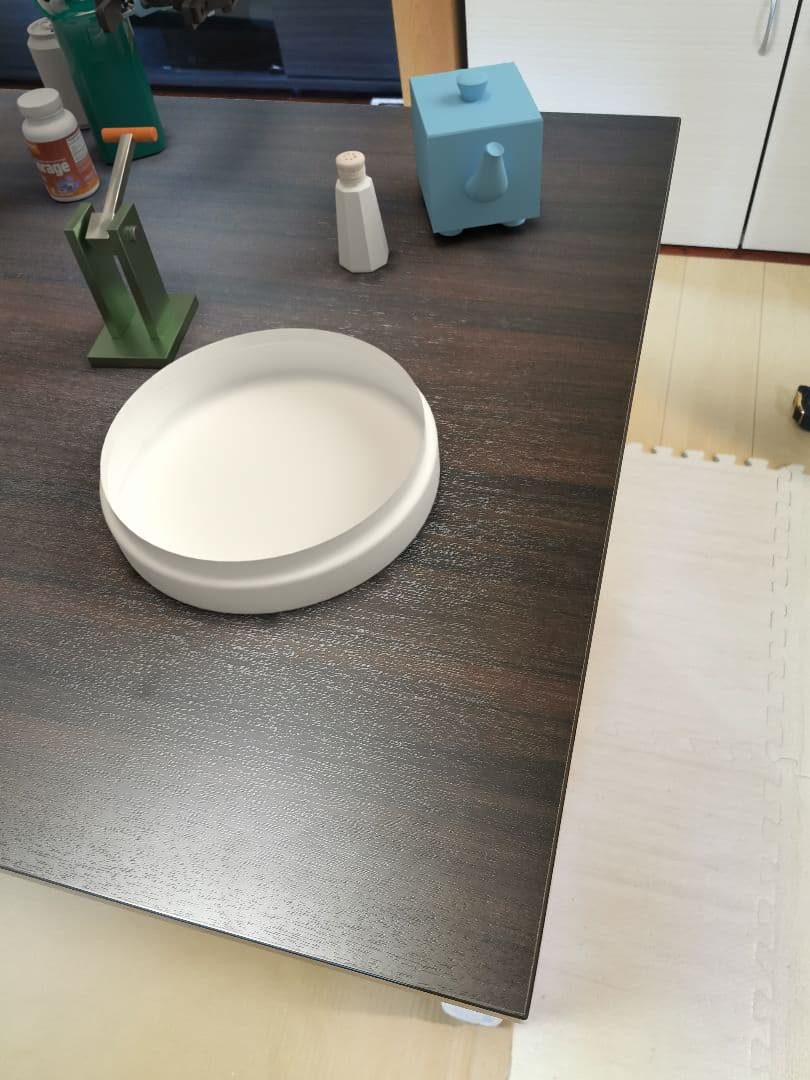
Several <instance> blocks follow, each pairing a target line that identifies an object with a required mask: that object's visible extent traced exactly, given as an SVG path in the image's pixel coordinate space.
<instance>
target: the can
mask: <svg viewBox="0 0 810 1080" xmlns="http://www.w3.org/2000/svg"><path fill="white" fill-rule="evenodd" d="M26 31H27V34H29V37H28V39H27V42H26V45H27V47H28V50H29V52H30V54H31V57H32V60H33V62H34V64H35V67H36V69H37V71H38V74H39V77H40V79H41V82H42V84H43V86H44V88H52V89H55V90H57V91H58V93H59V95H60V98H61V100H62V103H63V109H66V110H68V111H70V112H71V113H72V114H73V115H74V117H75V118H76V121H77V123H78V126H79V129H80V130H84V129H90V126H89V124H88V121H87V118H86V116H85V113H84V110H83V108H82V105H81V102H80V100H79V97H78V95H77V92H76V89H75V87H74V84H73V81H72V79H71V76H70V73H69V71H68V68H67V66H66V63H65V60H64V58H63V55H62V52H61V50H60V47H59V45H58V42H57V39H56V37H55V34H54V31H53V29H52V26H51V23H50V21H49V19H48V18H46V17H45V16H44V17H42V18H38V19H37V20H34V21H32V22H31V23H30V24H29V25H28V27H27V29H26Z"/></svg>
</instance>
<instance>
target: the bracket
mask: <svg viewBox="0 0 810 1080" xmlns="http://www.w3.org/2000/svg"><path fill="white" fill-rule="evenodd" d="M91 213H96V211H95V208H94V206H93V203H92V202H80V204H79V206H78V207H77V209H75V212H74V213H73V215H71V218H70V219H69V220H68V222H67V223H66V225H65V226H64V227H63V229H62V230H63V234H64V235H65V238H66V240H67V242H68V244H69V247H70V249H71V251H72V253H73V256H74V258H75V260H76V263H77V265H78V267H79V268H80V271H81V274H82V275H83V279H84V280H85V282H86V285H87V287H88V289H89V292H90V294H91V295H92V298H93V300H94V302H95V304H96V307H97V309H98V312H99V314H100V316H101V318H102V320H103V322H104V325H103V327H102V329H101V330H100V332H99V334H98V336H97V338H96V339H95V341H94V343H93V345H92V347H91V349H90V350H89V352H88V354H87V356H86V358H87V360H88V362H89V364H90V367H92V368H93V367H94V368H145V369H146V368H151V369H152V368H153V369H163V368H164V367H166V366H167V365H169V364H171V363H172V362H174V361H175V360H174V359H175V358H176V355H177V353H178V350H179V348H180V346H181V344H182V342H183V340H184V338H185V335H186V333H187V331H188V329H189V326H190V324H191V322H192V320H193V318H194V315H195V313H196V311H197V309H198V306H199V305H200V303H199V299H198V297H197V294H196V293H168V292H167V290H166V287H165V284H164V281H163V278H162V276H161V273H160V271H159V267H158V265H157V263H156V259H155V257H154V254H153V251H152V249H151V248H152V247H151V246H150V243H149V241H148V238H147V235H146V232H145V229H144V226H143V223H142V221H141V219H140V216H139V214H138V210H137V207H136V205H135V202H134V201H123V202H122V205H121V207H120V208H119V210H118V211H117V213H116V215H115V216H114V218H113V219H112V221H111V223H110V224H109V226H108V228H107V229H106V230H107V233H108V235H109V238H110V240H111V243H112V245H113V248H114V250H115V252H116V255H117V256H116V257H117V260H118V262H119V265H120V267H121V271H122V272H123V275H124V277H125V280H126V282H127V284H128V287H129V289H130V293H129V291H128V289H127V286H126V284H125V282H124V279H123V277H122V274H121V272H120V269H119V267H118V265H117V262H116V259H115V256H98V255H97V254H96V252H95V251H94V250H93V248H92V247H91V246H90V244H89V243H88V242H87V240H86V234H87V230H88V226H89V222H90V218H91Z"/></svg>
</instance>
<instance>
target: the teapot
mask: <svg viewBox="0 0 810 1080" xmlns="http://www.w3.org/2000/svg"><path fill="white" fill-rule="evenodd" d="M408 85H409V98H410V106H411V107H410V110H411V121H412V134H413V146H414V159H415V170H416V174H417V178H418V182H419V186H420V188H421V193H422V196H423V201H424V204H425V206H426V207H425V208H426V211H427V214H428V218H429V221H430V225H431V229H432V233H433V234H436V233H437V234H440V235H442V236H447V237H452V236H457V235H459V234H461V233H462V232H463V230H464V229H469V228H475V227H476V228H477V227H483V226H489V225H495V224H502V225H504V226H506V227H517V226H520V225H522V224H523V223H524V222H525V221H526V220H527V219H535V218H540V216H541V193H542V192H541V191H542V172H543V171H542V167H543V146H544V145H543V142H544V141H543V140H544V118H543V116H542V114H541V112H540V109H539V107H538V106H537V104H536V102H535V100H534V98H533V96H532V94H531V91H530V90H529V87H528V86H527V84H526V82H525V80H524V78H523V76H522V74H521V72H520V71H519V68H518V66H517V65H516V63H515V62H514V61H509V62H503V63H497V64H489V65H483V66H476V67H468V68H459V69H456V70H449V71H443V72H436V73H429V74H424V75H423V74H422V75H418V76H410V77H409V78H408Z"/></svg>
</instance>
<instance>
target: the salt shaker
mask: <svg viewBox="0 0 810 1080" xmlns="http://www.w3.org/2000/svg"><path fill="white" fill-rule="evenodd" d="M365 161H366V157H365V154H363V153H362V152H361V151H357V150H347V151H344V152H341V153H340V154H338V155H337V156H336V158H335V165H336V167H337V174H338V176H339V177H338V178H337V180H336V184H335V187H334V188H335V189H334V190H335V211H336V227H337V228H336V229H337V230H336V231H337V246H338V247H337V248H338V260H339V265H340V266H341V267H342V268H344V269H345V270H347V271H348V272H350V273H354V274H356V273H357V274H358V273H359V274H360V273H372V272H375V271H376V270H378V269H379V268H381V267H384V266H385V265H386V264H387V263H388V259H389V251H390V250H389V246H388V240H387V237H386V233H385V229H384V224H383V220H382V216H381V211H380V207H379V203H378V198H377V195H376V190H375V186H374V182H373V179H372V177H370V176H369V175H367V173H366V171H367V170H366V164H365Z"/></svg>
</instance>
